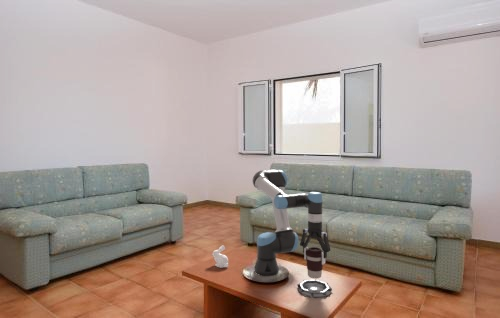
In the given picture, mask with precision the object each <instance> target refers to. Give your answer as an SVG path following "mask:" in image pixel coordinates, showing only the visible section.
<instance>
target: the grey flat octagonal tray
mask: <svg viewBox="0 0 500 318" xmlns="http://www.w3.org/2000/svg"><path fill="white" fill-rule="evenodd" d="M296 285H297V290H298V292H299V293H300V294H301V295H302V296H303V295H304V296H305V297H309V298H315V299H319V298H320V299H322V298H327V297H328V296H330V295H331V294H332V291H333V287H331V285H329V283H328V282H325V281H321V280H319V279H315V278H314V279H303V281H302V282H299V283H297V284H296Z"/></svg>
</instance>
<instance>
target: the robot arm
mask: <svg viewBox="0 0 500 318" xmlns="http://www.w3.org/2000/svg"><path fill="white" fill-rule="evenodd" d="M252 184H253V187H254V188H255V189H256V190H258V191H262V193H264V194H265V195H267V197H269V198H270V199H271V202H272V207H273V208H272V209H273V215H274V219H275V224H276V225H275V226H276V230H275V231H274V232H271V231H270V232H269V231H267V232H263V233H260V234H259V235H258V236H257V240H256V254H257V255H256V262H255V265H254V268H253V269H254V270H255V272H256V273H257V274H256V273H255V272H254V273H255V274H256V275H258V274H259V275H258V276H261V275H262V277H271V276H276V275H277V274H278V273H279V271H280V270H279V269H280V268H279V265H278V262H277V254H286V253H291V252H295V251H296V250H297V249H298V246H300V247H302V253H303V254H304V255H303V256H304V257H303V258H304V260H305V261H307V259H306V258H307V255H306V250H308V249H309V246H308V245H309V243H310V242H311V239H315V240H317V242H318V243H319V246H320V249H321V250H322V251H323V252H322V265H323V266H324V265H325V264H326V259H327V258H328V253H329V252H330V251H331V247H330V243H329V237H328V235H329V234H328V232H323V201H324V200H323V193H322V192H319V191H310V192H308V193H306V192H301V191H300V192H298V193H294V194H293V193H291V194H290V193H289V194H287V193H285V192H284V191H285V189H286V186H287V185H288V177H287V174H286V172H285V171H283V170H282V169H268V170H267V169H266V170H264V169H262V170H259V171H257V172H256V173H255V174H254V175H253V178H252ZM296 208H297V209H298V208H307V220H308V221H307V227H306V228H304V229H302V234H301V238H300V239H301V240H299V236H298V234H297V232H294V229H293V228H292V227H291V226H290V220H289V214H288V209H296ZM299 241H300V243H299ZM254 270H253V271H254Z"/></svg>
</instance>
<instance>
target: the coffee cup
mask: <svg viewBox="0 0 500 318" xmlns="http://www.w3.org/2000/svg"><path fill="white" fill-rule="evenodd" d="M322 252H323V250H322V248H321V247H316V246H315V247H314V246H311V247H308V250H306V255H307V258H306V269H307V276H308V277H309V278H310V279H314V280H315V279H316V280H318V279H320V278H321V277H322V273H323V266H324V264H323V265H322Z"/></svg>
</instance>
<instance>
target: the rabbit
mask: <svg viewBox="0 0 500 318" xmlns="http://www.w3.org/2000/svg"><path fill="white" fill-rule="evenodd" d="M225 250H226V246H225V245H223V244H222V245H221V246H219V248H218V249H215V250H213V251H212V256H213V257H214V259H213V260H214V261H215V262H216V263H215V264H214V266H215V267H217V268H219V269H220V268H221V269H222V268H227V267H229V258H228V256H227V255H225V254H222V253H220V252H222V251H225Z"/></svg>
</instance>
